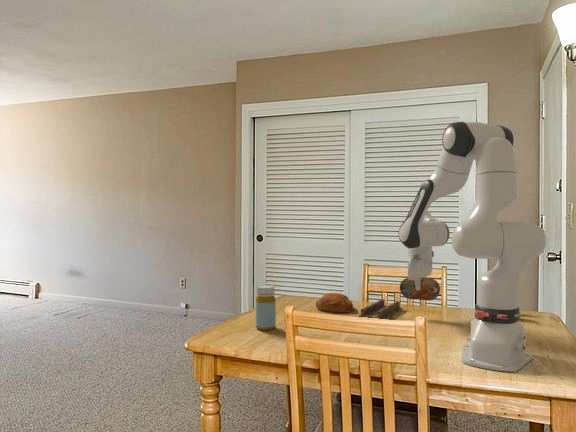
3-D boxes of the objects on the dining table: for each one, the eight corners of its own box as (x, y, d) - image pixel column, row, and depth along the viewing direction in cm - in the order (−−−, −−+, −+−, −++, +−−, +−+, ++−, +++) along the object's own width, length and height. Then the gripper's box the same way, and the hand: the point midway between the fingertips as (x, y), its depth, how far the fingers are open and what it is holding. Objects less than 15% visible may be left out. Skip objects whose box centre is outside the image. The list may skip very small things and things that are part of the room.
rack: (382, 321, 175) (382, 312, 175) (358, 318, 180) (358, 309, 180) (402, 310, 194) (402, 301, 193) (379, 307, 199) (379, 299, 199)
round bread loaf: (344, 320, 186) (346, 301, 185) (310, 310, 194) (312, 291, 193) (358, 312, 198) (361, 294, 197) (326, 303, 206) (328, 285, 205)
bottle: (273, 331, 162) (272, 288, 161) (253, 330, 163) (253, 287, 163) (277, 326, 169) (277, 285, 168) (258, 325, 170) (258, 284, 170)
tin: (399, 298, 182) (399, 277, 182) (401, 296, 185) (401, 275, 184) (439, 301, 175) (439, 279, 174) (441, 299, 178) (440, 277, 177)
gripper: (420, 256, 169) (420, 294, 169) (435, 252, 187) (435, 286, 187) (403, 255, 173) (403, 292, 173) (419, 251, 190) (419, 285, 190)
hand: (419, 289), depth 180 cm, fingers closed on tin, 3 cm apart
